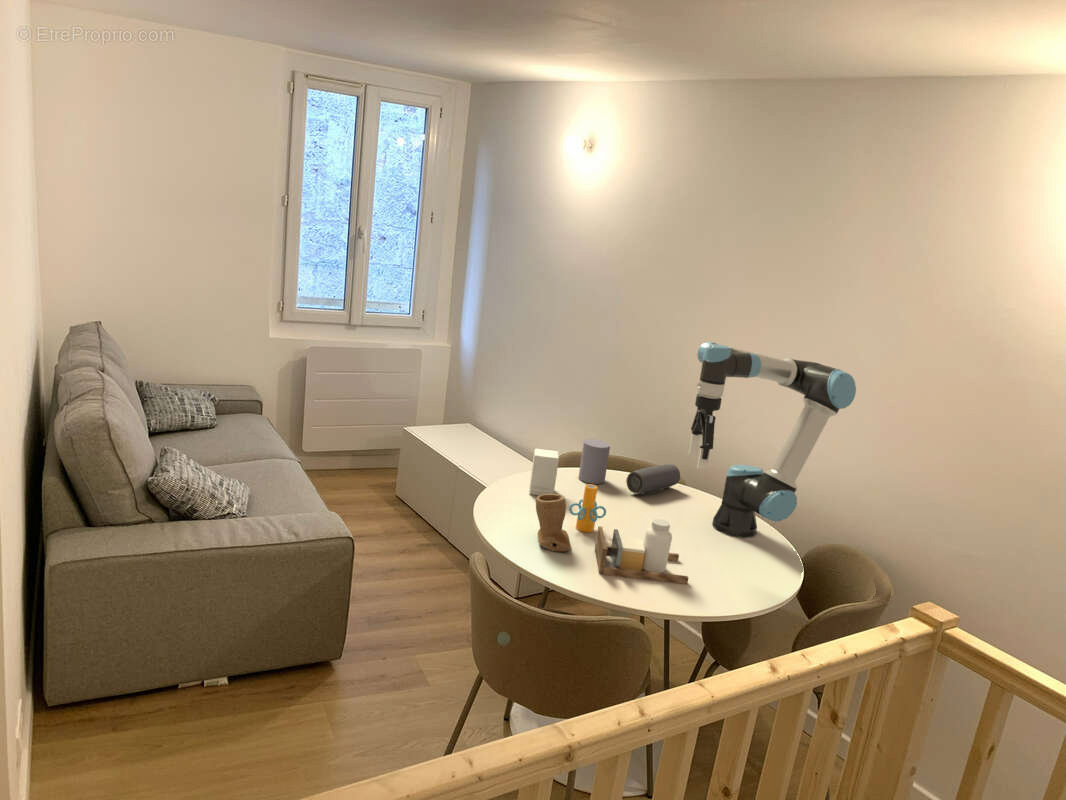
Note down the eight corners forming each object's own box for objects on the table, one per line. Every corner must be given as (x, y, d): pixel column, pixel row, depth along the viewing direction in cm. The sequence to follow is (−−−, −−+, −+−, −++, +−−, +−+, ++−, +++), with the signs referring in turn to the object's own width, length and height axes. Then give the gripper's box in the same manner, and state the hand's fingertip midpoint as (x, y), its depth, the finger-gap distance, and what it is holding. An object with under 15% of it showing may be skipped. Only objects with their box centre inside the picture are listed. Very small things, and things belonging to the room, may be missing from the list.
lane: (677, 559, 249) (681, 536, 247) (687, 584, 233) (692, 559, 231) (594, 550, 248) (598, 526, 246) (599, 574, 232) (603, 548, 230)
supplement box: (553, 497, 287) (559, 458, 284) (528, 494, 287) (534, 455, 284) (553, 489, 296) (558, 450, 293) (529, 486, 296) (534, 447, 292)
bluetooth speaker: (660, 483, 319) (664, 459, 316) (678, 491, 312) (683, 467, 310) (623, 491, 303) (627, 466, 301) (641, 500, 297) (646, 475, 294)
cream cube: (638, 561, 244) (641, 540, 242) (641, 572, 237) (645, 550, 235) (614, 559, 244) (618, 537, 242) (617, 569, 237) (621, 547, 235)
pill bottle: (665, 576, 236) (674, 529, 233) (638, 571, 237) (647, 524, 234) (666, 565, 244) (674, 519, 240) (639, 560, 245) (647, 514, 241)
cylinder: (590, 539, 255) (596, 495, 252) (562, 529, 260) (568, 486, 257) (607, 528, 266) (614, 486, 262) (580, 519, 271) (586, 477, 267)
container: (576, 481, 307) (582, 444, 304) (579, 473, 317) (585, 437, 314) (603, 486, 306) (609, 449, 303) (605, 478, 316) (611, 442, 312)
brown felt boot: (530, 530, 256) (536, 486, 252) (567, 534, 257) (573, 491, 253) (531, 550, 241) (537, 504, 238) (570, 555, 242) (577, 509, 238)
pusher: (613, 553, 246) (617, 529, 245) (618, 573, 233) (622, 547, 232) (610, 552, 246) (614, 529, 244) (614, 572, 233) (618, 547, 231)
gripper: (689, 384, 254) (677, 447, 259) (706, 404, 230) (693, 473, 235) (712, 387, 254) (700, 450, 259) (731, 407, 230) (718, 476, 235)
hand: (697, 461), depth 247 cm, fingers open, 13 cm apart
